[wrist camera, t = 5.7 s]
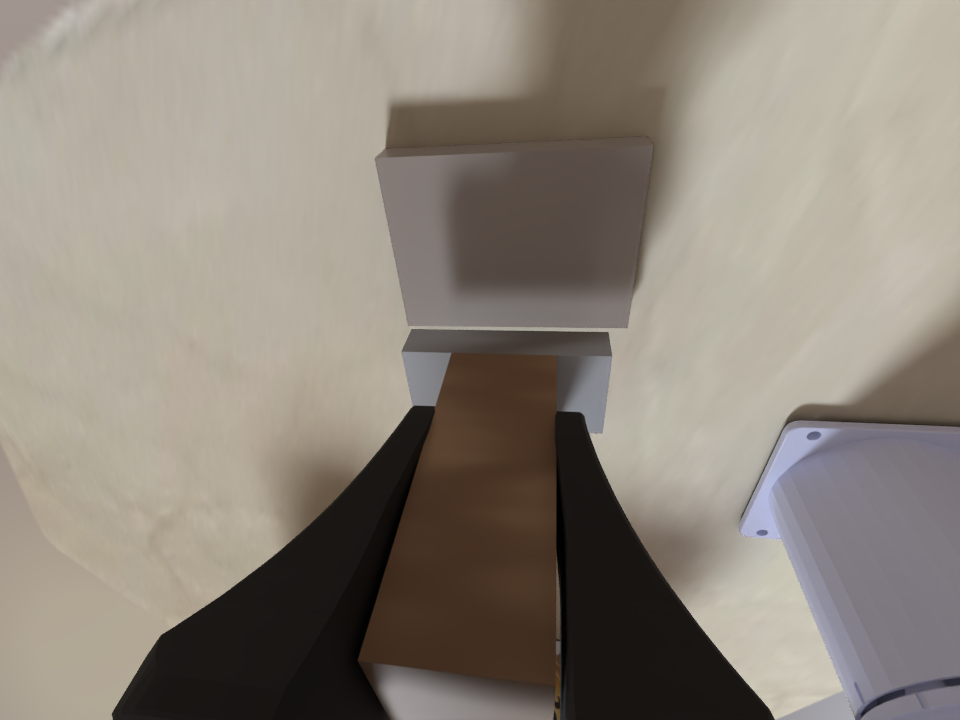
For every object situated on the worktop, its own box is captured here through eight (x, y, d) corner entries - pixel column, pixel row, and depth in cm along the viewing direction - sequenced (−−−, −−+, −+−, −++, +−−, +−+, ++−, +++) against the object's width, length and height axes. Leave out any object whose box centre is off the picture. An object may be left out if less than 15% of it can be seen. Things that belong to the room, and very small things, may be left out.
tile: (622, 304, 18) (645, 132, 14) (627, 327, 16) (653, 145, 13) (418, 303, 19) (389, 145, 15) (408, 325, 18) (374, 158, 14)
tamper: (608, 332, 14) (664, 699, 6) (599, 407, 16) (636, 760, 8) (411, 329, 15) (267, 649, 7) (424, 400, 16) (319, 714, 9)
